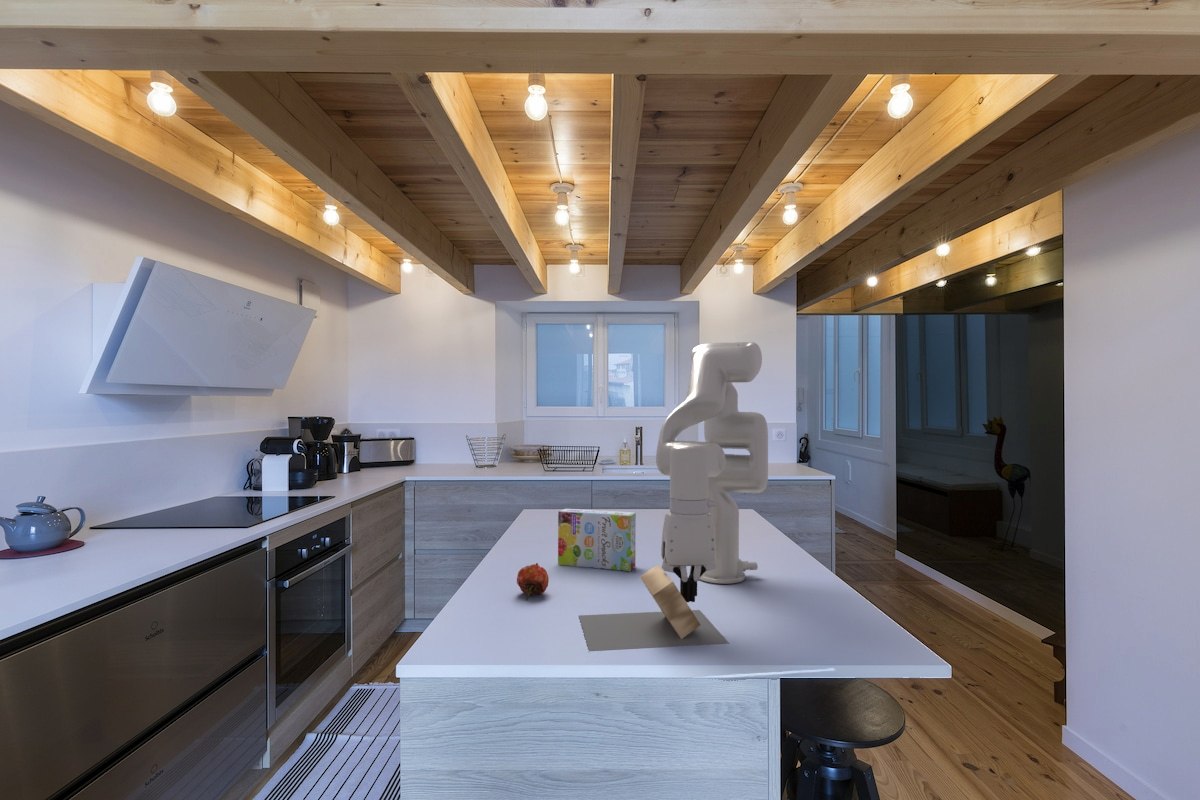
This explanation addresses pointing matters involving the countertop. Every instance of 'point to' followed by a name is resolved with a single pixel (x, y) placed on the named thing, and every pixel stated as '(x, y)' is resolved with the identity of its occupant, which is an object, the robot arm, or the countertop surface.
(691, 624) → the slab
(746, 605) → the countertop surface
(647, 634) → the mat
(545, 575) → the pomegranate
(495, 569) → the countertop surface
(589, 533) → the snack box
